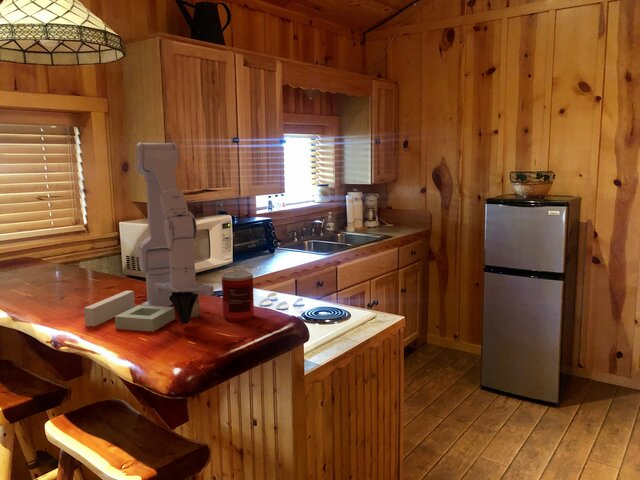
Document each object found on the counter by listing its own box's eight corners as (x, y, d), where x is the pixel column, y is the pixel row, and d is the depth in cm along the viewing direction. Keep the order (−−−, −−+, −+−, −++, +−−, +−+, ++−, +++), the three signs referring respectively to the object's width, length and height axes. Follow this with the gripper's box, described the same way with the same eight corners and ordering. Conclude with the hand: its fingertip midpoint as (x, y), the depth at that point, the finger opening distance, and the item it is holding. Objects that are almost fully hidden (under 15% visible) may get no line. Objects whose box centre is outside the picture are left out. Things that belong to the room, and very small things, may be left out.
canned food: (239, 310, 142) (237, 269, 140) (260, 316, 137) (259, 273, 135) (216, 317, 136) (214, 275, 134) (238, 324, 131) (236, 279, 129)
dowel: (189, 313, 140) (188, 283, 139) (202, 314, 139) (201, 283, 138) (182, 317, 136) (181, 286, 135) (195, 318, 136) (194, 287, 134)
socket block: (139, 316, 138) (139, 304, 137) (175, 318, 135) (174, 307, 135) (115, 328, 128) (114, 316, 128) (153, 331, 126) (152, 319, 125)
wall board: (127, 306, 147) (126, 290, 146) (135, 307, 146) (133, 291, 145) (85, 326, 130) (83, 308, 130) (93, 326, 130) (92, 308, 129)
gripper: (145, 269, 125) (149, 325, 127) (202, 271, 121) (205, 330, 123) (161, 262, 131) (164, 316, 134) (216, 265, 128) (218, 320, 130)
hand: (185, 322), depth 129 cm, fingers closed
